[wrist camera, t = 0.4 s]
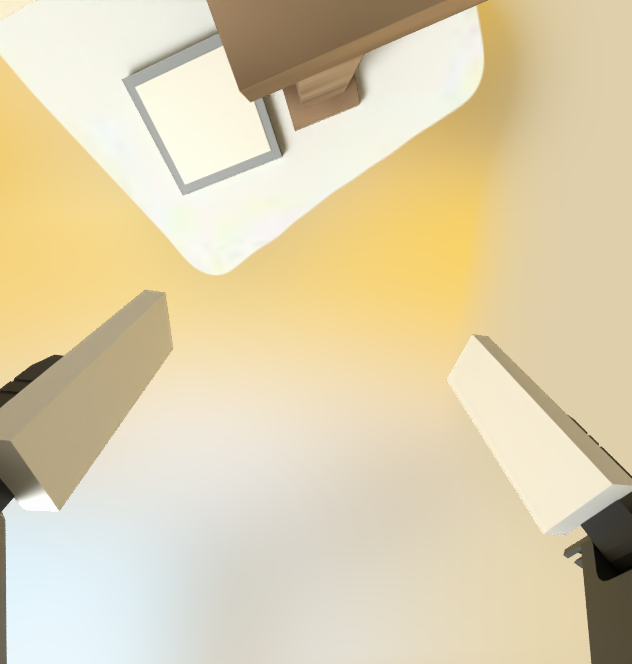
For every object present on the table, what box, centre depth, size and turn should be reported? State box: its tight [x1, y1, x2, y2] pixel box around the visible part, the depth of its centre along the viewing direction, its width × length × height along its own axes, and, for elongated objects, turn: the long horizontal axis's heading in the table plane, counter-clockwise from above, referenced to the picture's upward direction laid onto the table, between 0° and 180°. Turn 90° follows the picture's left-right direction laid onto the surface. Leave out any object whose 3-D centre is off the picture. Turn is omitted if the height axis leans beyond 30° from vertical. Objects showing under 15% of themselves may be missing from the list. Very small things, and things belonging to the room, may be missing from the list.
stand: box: [207, 0, 487, 131], centre depth 18 cm, size 10×10×30 cm
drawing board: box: [122, 33, 282, 195], centre depth 32 cm, size 12×14×1 cm
